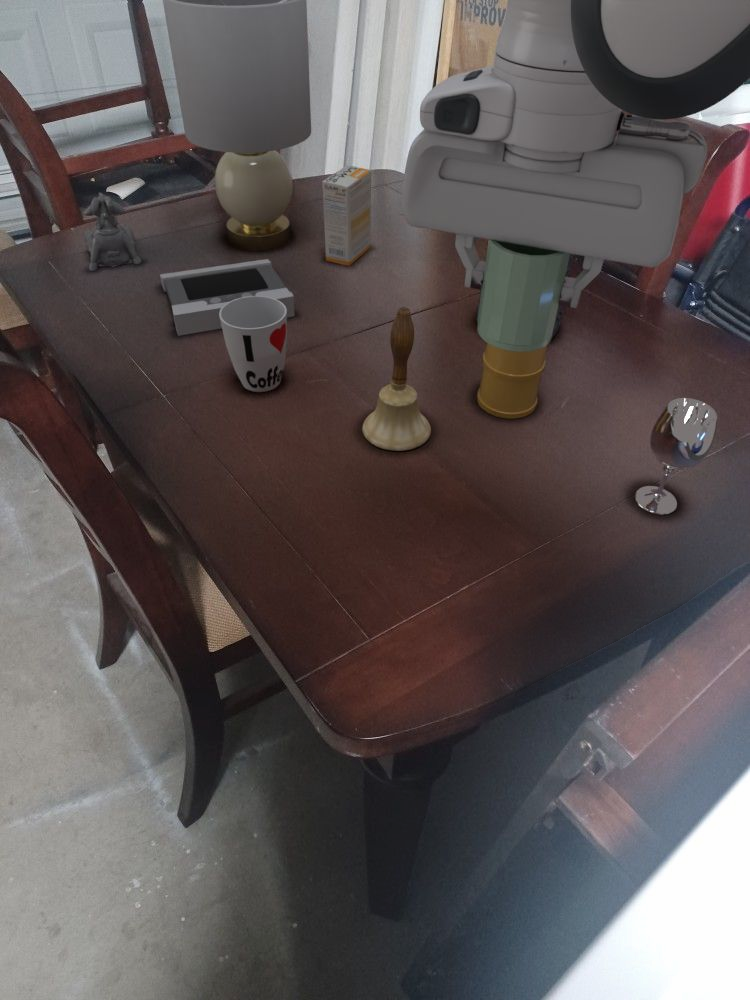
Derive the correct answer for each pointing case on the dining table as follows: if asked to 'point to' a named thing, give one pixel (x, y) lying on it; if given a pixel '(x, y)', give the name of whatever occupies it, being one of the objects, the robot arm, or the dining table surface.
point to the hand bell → (398, 398)
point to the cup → (256, 340)
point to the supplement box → (347, 214)
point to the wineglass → (677, 447)
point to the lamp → (245, 103)
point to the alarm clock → (220, 292)
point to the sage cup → (520, 295)
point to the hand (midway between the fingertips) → (520, 294)
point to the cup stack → (510, 381)
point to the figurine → (109, 235)
